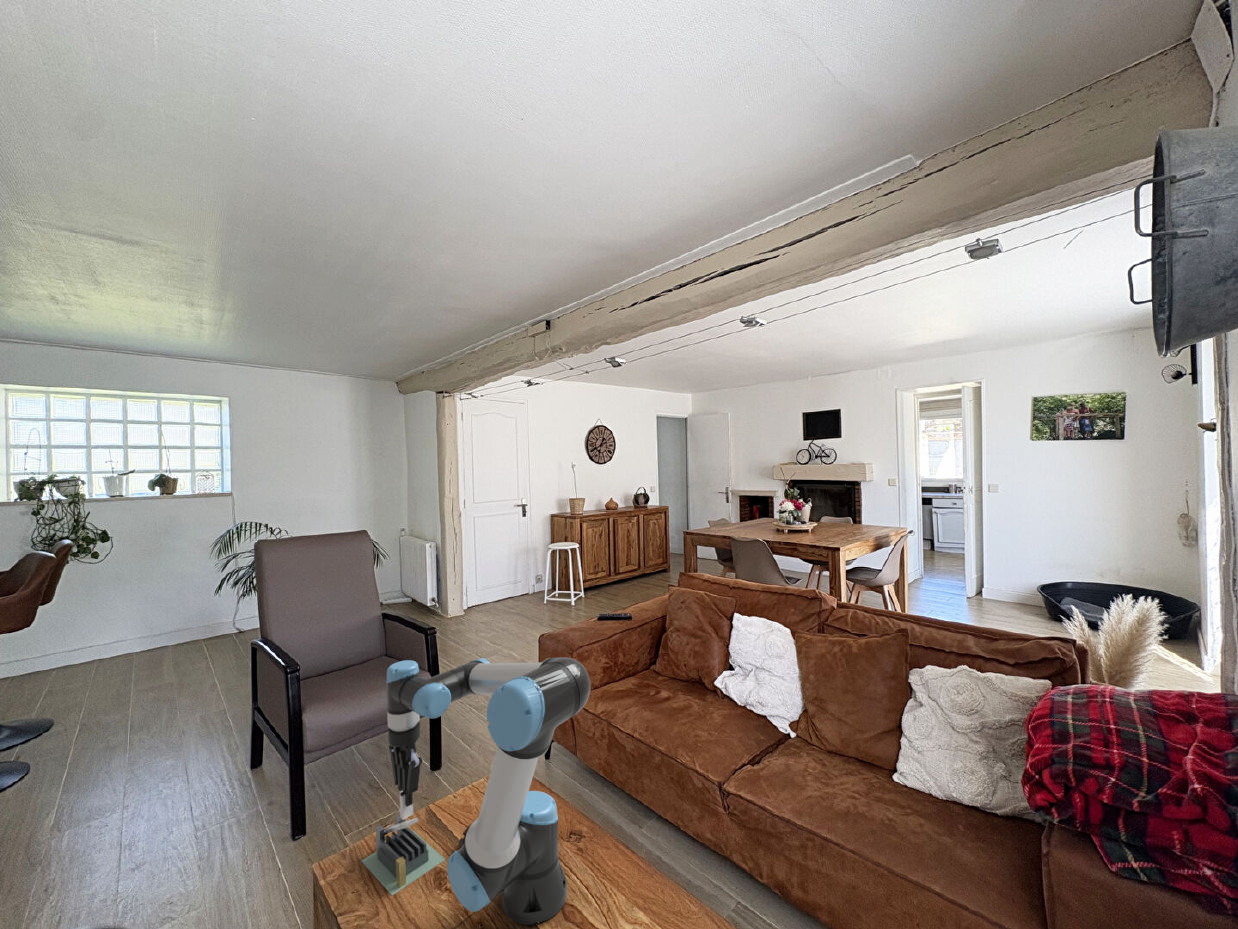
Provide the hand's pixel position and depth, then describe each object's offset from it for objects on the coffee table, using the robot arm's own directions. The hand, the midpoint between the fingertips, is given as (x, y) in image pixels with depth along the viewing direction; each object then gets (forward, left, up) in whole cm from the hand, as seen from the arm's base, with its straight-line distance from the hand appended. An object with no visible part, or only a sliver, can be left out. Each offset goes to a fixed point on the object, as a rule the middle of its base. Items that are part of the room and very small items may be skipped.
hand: (406, 815), depth 131 cm
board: (+3, 0, -14) cm, 14 cm away
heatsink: (+3, 0, -13) cm, 13 cm away
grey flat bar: (+3, 0, -5) cm, 6 cm away
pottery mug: (-9, -16, -14) cm, 23 cm away
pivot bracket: (+9, 0, -13) cm, 16 cm away
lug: (-4, +4, -13) cm, 14 cm away
